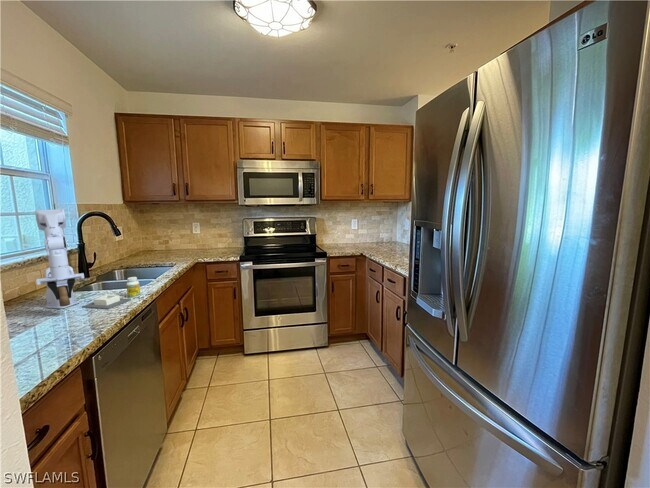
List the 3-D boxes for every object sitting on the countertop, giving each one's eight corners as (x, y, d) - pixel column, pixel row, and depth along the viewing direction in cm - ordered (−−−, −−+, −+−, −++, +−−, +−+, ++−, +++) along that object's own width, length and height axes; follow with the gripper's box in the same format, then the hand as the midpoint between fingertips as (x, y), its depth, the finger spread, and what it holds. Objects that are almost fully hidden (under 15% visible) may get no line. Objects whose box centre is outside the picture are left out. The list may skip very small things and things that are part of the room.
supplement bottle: (140, 294, 151) (138, 275, 150) (140, 297, 147) (138, 278, 145) (127, 296, 148) (125, 277, 147) (127, 299, 144) (125, 279, 142)
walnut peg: (57, 306, 122) (54, 287, 121) (66, 303, 125) (63, 285, 124) (64, 306, 121) (61, 287, 120) (72, 303, 124) (69, 285, 123)
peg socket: (82, 307, 133) (81, 300, 133) (106, 298, 145) (105, 292, 144) (108, 309, 130) (107, 302, 130) (131, 300, 142) (130, 293, 142)
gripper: (33, 270, 113) (38, 304, 115) (82, 264, 122) (86, 296, 124) (35, 267, 119) (40, 300, 121) (82, 262, 128) (86, 292, 130)
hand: (64, 298), depth 123 cm, fingers closed on walnut peg, 3 cm apart
